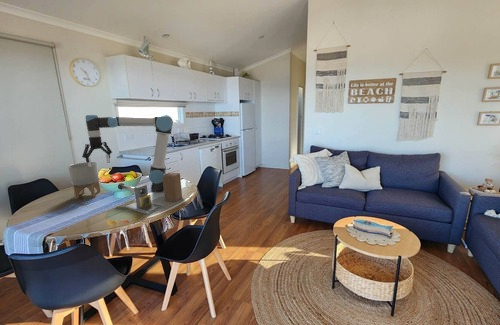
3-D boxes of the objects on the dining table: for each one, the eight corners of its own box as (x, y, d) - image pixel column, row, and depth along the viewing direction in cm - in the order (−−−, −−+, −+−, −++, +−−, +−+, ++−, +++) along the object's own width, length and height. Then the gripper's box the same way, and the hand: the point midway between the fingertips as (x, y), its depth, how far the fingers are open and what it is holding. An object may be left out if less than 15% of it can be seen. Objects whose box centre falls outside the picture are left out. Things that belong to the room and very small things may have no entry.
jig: (164, 206, 173) (162, 185, 169) (147, 214, 161) (144, 192, 157) (142, 201, 184) (140, 181, 181) (125, 207, 173) (122, 186, 169)
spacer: (151, 204, 174) (150, 194, 173) (142, 208, 168) (140, 197, 166) (149, 203, 175) (148, 193, 174) (140, 207, 169) (139, 197, 167)
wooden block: (176, 201, 181) (174, 176, 177) (164, 201, 183) (161, 175, 179) (182, 197, 191) (180, 172, 186) (171, 196, 193) (168, 172, 188)
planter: (82, 200, 187) (75, 168, 182) (69, 196, 197) (63, 166, 191) (106, 193, 203) (101, 163, 197) (93, 189, 213) (88, 161, 207)
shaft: (144, 193, 173) (144, 187, 172) (138, 195, 169) (138, 189, 168) (124, 188, 185) (123, 182, 184) (118, 190, 181) (117, 184, 180)
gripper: (108, 134, 188) (112, 160, 193) (73, 138, 167) (78, 167, 172) (114, 134, 184) (118, 161, 189) (78, 138, 163) (84, 169, 168)
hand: (99, 164), depth 181 cm, fingers open, 13 cm apart
